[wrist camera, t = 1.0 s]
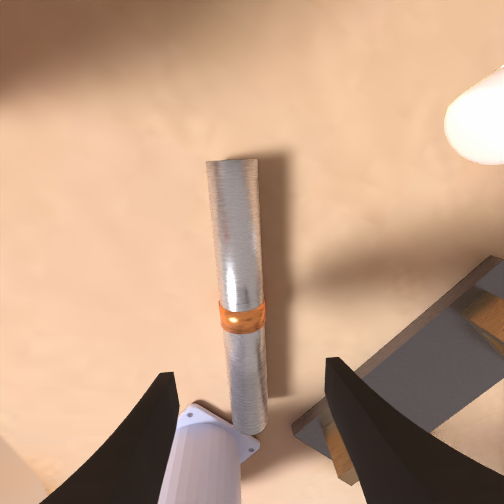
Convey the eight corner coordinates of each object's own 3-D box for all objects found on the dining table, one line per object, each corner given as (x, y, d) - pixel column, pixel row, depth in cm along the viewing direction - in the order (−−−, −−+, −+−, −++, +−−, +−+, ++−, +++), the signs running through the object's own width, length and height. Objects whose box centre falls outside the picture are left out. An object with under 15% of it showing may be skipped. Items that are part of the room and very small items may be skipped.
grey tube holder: (360, 469, 27) (387, 534, 22) (291, 425, 25) (305, 488, 20) (549, 326, 23) (632, 369, 18) (491, 255, 20) (569, 282, 16)
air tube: (269, 401, 23) (270, 436, 20) (233, 400, 23) (228, 435, 20) (260, 159, 17) (258, 158, 14) (210, 161, 17) (198, 161, 14)
